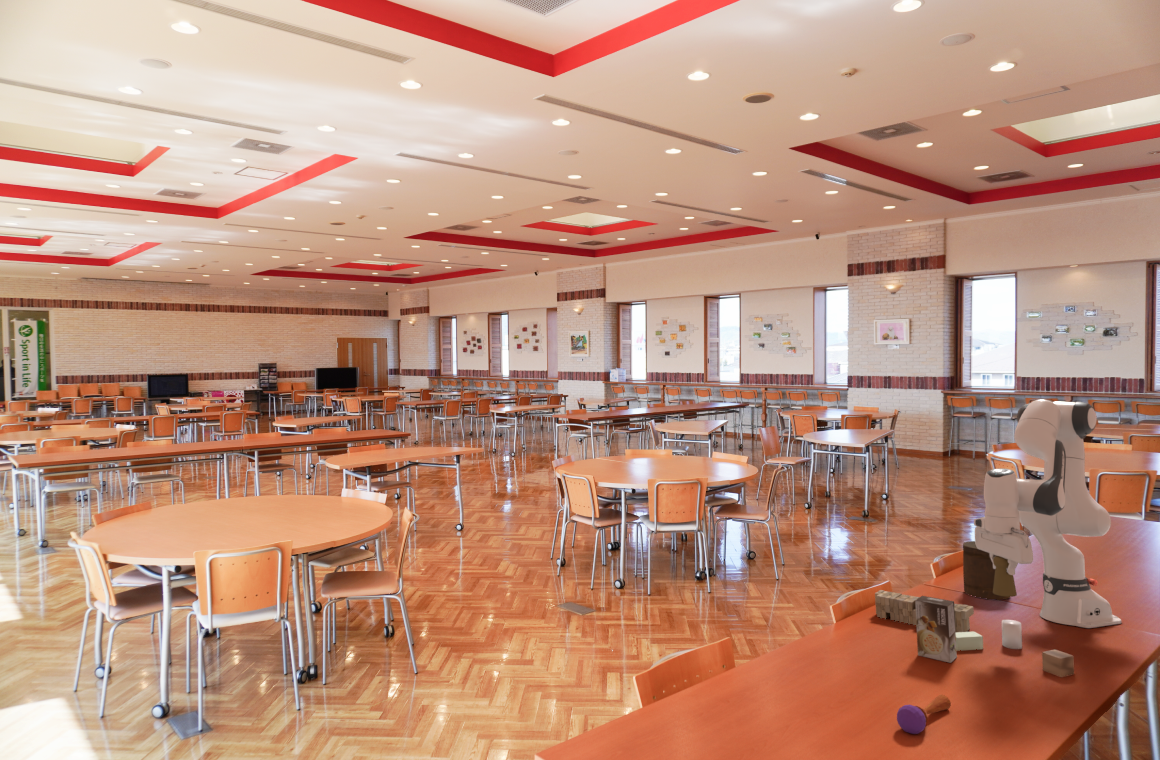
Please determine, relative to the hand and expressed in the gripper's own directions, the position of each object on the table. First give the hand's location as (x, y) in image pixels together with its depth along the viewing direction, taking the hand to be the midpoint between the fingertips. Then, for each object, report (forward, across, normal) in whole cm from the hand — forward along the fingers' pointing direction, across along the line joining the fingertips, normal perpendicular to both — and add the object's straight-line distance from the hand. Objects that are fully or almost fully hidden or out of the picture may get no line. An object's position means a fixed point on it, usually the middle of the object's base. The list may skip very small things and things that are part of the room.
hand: (1003, 571), depth 202 cm
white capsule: (+23, +3, -4) cm, 24 cm away
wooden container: (+23, +51, -30) cm, 64 cm away
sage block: (+23, +4, +10) cm, 26 cm away
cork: (+7, 0, 0) cm, 7 cm away
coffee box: (+23, -1, +22) cm, 32 cm away
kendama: (+23, -37, +47) cm, 64 cm away
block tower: (+24, +26, +11) cm, 36 cm away
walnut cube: (+23, -16, -3) cm, 28 cm away
